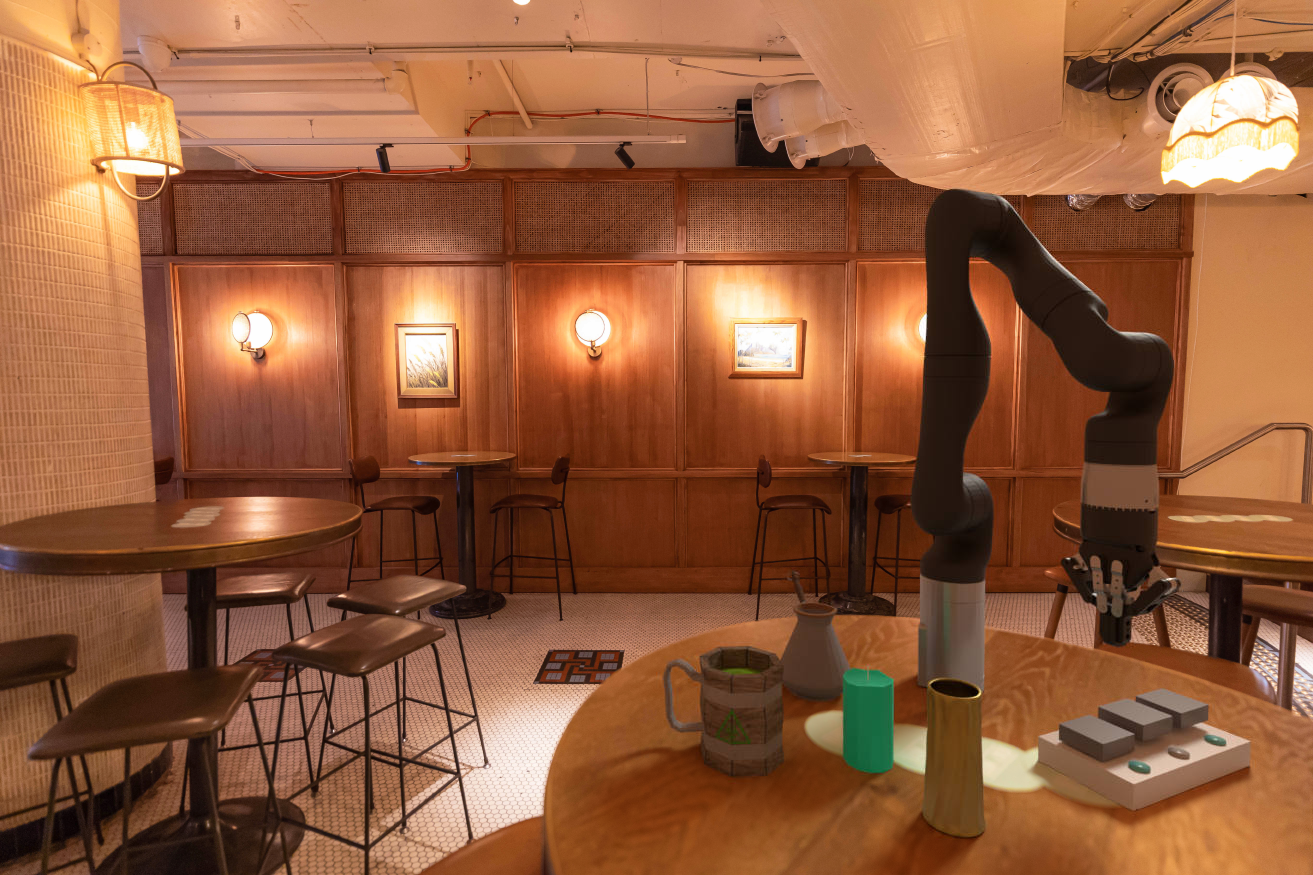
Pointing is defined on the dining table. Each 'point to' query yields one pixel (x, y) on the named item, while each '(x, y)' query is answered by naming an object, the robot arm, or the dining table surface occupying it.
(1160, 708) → the back key
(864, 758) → the candle
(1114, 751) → the front key
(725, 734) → the mug
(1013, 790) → the dining table surface
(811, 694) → the coffee pot
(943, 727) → the vase
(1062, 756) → the keypad
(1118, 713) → the middle key
